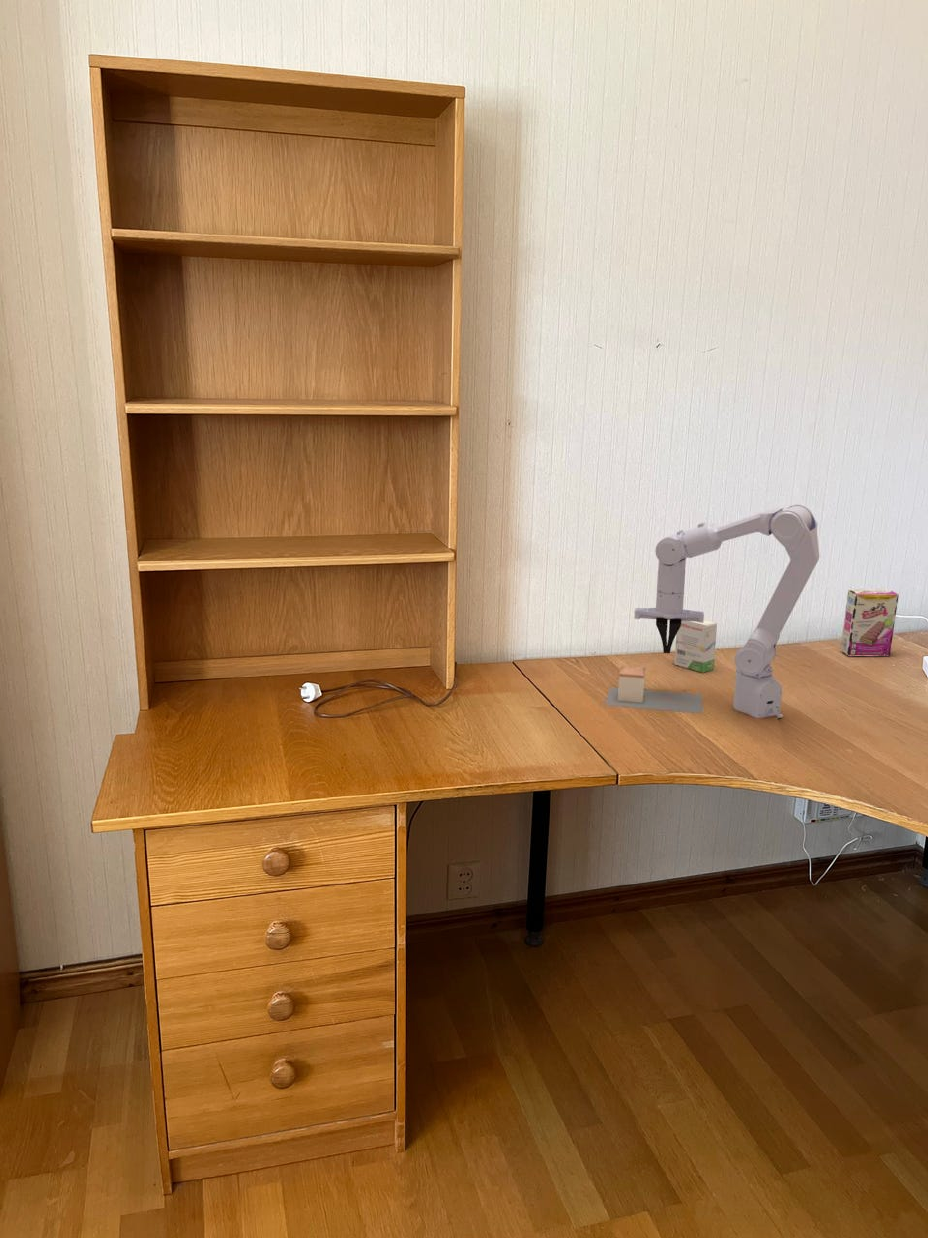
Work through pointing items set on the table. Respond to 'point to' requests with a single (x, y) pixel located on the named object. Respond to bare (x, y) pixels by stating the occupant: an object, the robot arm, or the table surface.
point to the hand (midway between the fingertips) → (666, 651)
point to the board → (660, 701)
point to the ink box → (696, 645)
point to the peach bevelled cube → (631, 684)
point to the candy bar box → (869, 622)
